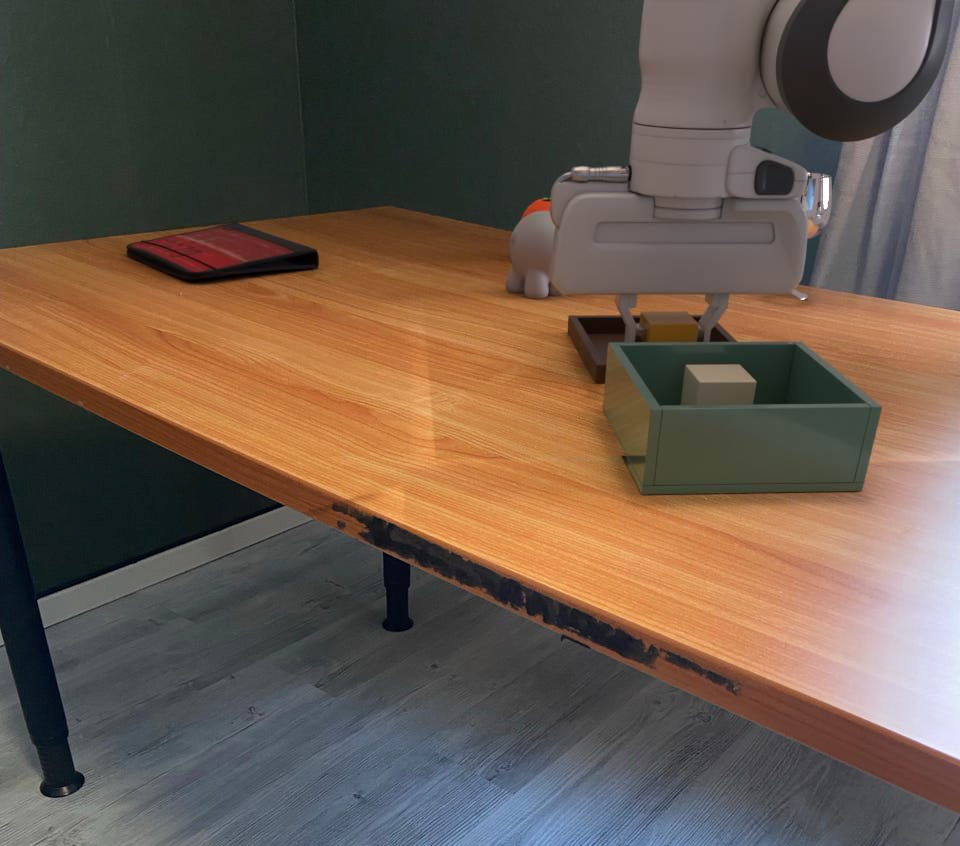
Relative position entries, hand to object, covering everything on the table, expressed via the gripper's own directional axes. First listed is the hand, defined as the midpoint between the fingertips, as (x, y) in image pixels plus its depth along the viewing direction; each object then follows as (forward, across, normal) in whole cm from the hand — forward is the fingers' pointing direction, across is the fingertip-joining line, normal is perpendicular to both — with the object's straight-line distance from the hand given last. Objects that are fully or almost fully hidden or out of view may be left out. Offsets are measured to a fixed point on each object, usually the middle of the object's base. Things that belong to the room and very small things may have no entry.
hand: (666, 347), depth 83 cm
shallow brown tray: (+2, 0, +3) cm, 4 cm away
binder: (+2, -44, +45) cm, 63 cm away
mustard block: (+2, 0, 0) cm, 2 cm away
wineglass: (+2, +20, +27) cm, 34 cm away
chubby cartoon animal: (+2, -5, +28) cm, 29 cm away
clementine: (+2, -4, +47) cm, 47 cm away
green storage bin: (+2, 0, -18) cm, 18 cm away
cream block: (+2, 0, -15) cm, 15 cm away
